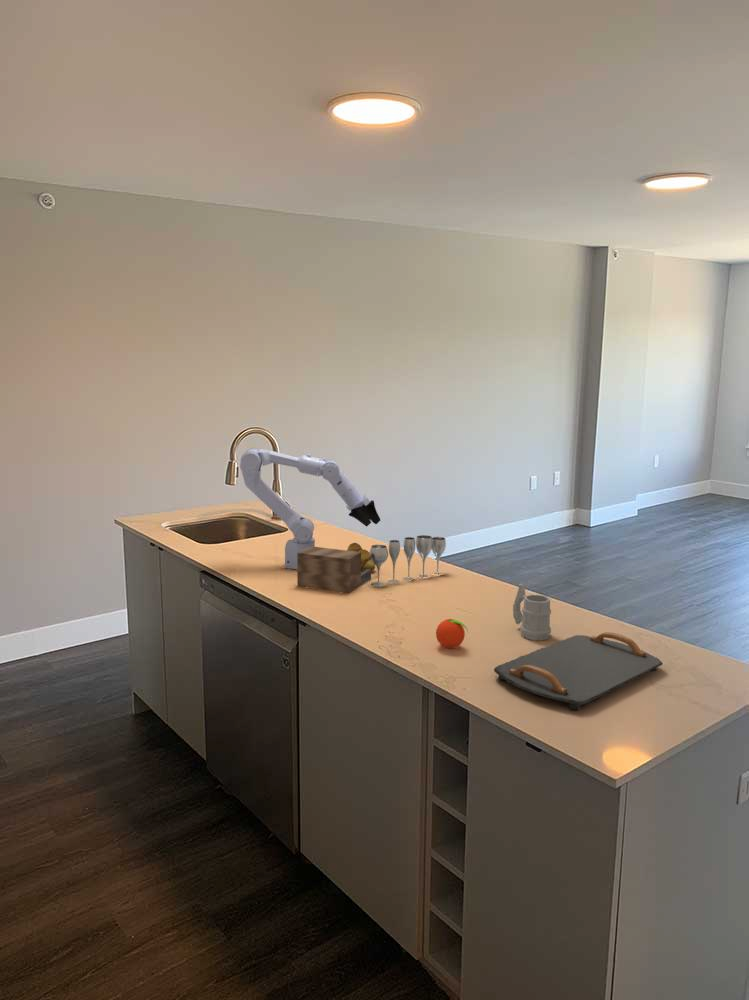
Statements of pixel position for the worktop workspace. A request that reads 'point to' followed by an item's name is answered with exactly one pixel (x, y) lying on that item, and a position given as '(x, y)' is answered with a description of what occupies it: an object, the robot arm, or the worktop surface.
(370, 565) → the bread roll
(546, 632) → the mug
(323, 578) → the walnut shelf
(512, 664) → the serving board
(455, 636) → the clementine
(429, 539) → the goblet set
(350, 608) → the worktop surface
